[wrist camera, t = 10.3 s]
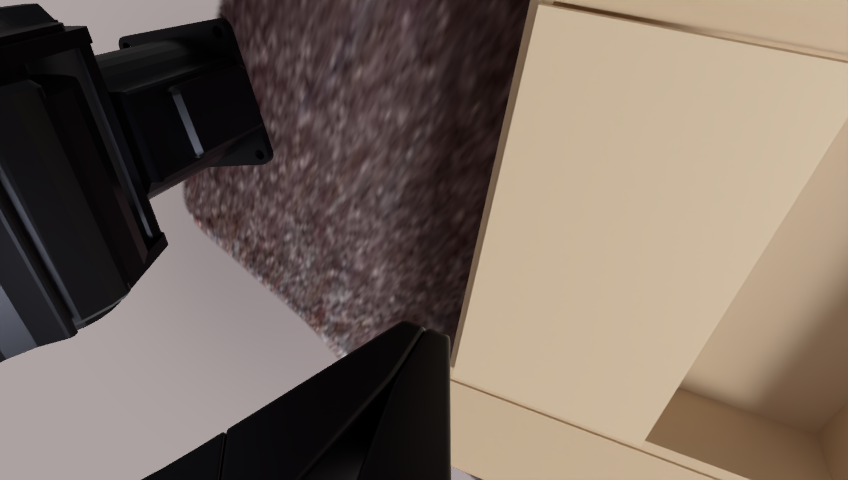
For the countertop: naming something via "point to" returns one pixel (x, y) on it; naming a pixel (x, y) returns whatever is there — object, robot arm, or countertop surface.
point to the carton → (663, 249)
